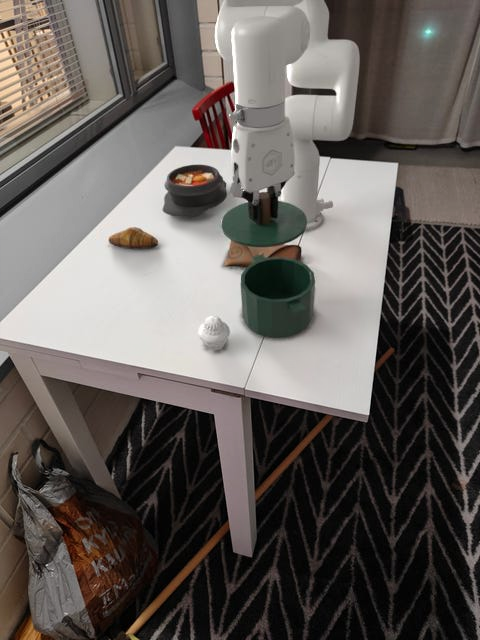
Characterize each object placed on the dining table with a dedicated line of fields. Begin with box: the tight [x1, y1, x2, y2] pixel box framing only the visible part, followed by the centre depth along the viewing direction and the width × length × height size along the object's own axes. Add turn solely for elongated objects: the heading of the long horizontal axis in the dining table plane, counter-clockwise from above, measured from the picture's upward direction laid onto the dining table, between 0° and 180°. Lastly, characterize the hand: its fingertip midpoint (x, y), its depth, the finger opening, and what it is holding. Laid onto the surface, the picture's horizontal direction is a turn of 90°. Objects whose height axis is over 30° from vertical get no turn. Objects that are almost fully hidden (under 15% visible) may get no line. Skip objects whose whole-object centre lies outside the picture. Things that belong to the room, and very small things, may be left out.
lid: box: [220, 191, 307, 247], centre depth 82 cm, size 16×16×6 cm
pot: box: [240, 254, 316, 339], centre depth 94 cm, size 15×20×10 cm
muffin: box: [197, 315, 231, 351], centre depth 89 cm, size 6×6×7 cm
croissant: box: [108, 226, 159, 250], centre depth 119 cm, size 14×7×5 cm, turn 78°
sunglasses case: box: [223, 240, 303, 269], centre depth 111 cm, size 18×7×7 cm
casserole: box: [162, 164, 228, 218], centre depth 134 cm, size 25×19×8 cm
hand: (263, 217), depth 83 cm, fingers closed on lid, 2 cm apart
